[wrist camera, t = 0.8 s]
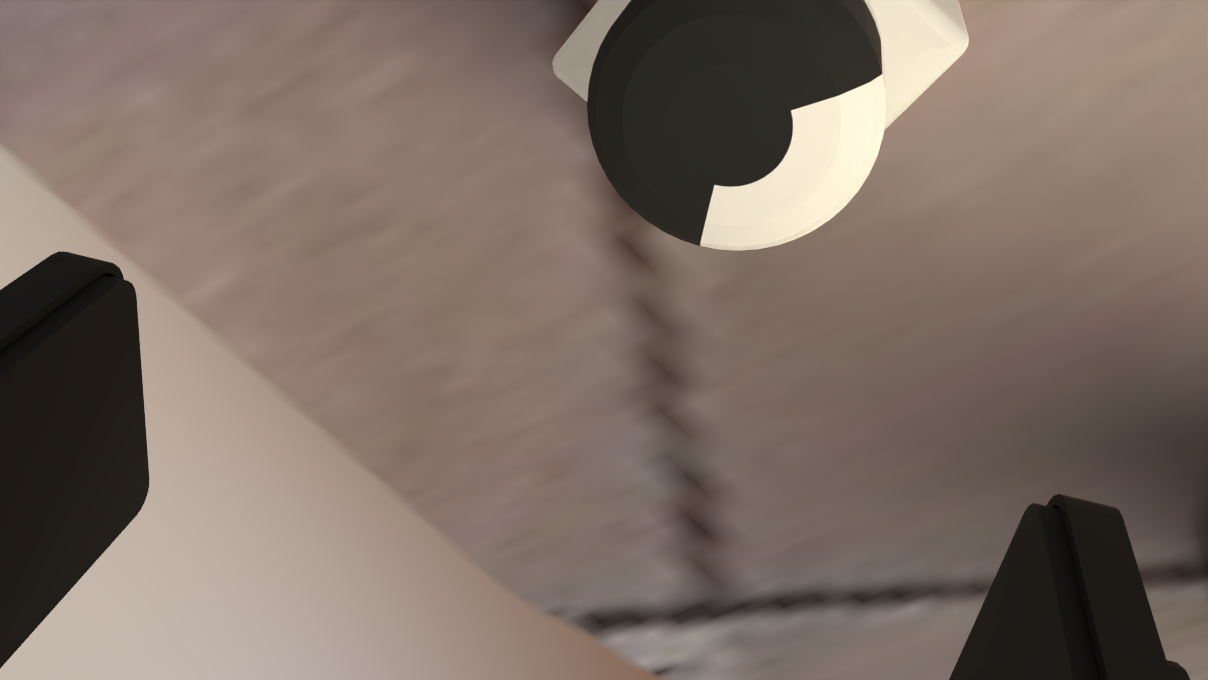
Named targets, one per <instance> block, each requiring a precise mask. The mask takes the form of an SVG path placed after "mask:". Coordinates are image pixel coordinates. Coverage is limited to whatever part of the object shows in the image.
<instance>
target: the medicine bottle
mask: <svg viewBox="0 0 1208 680" xmlns="http://www.w3.org/2000/svg"><path fill="white" fill-rule="evenodd" d="M968 42H969V36H968V33H967V29H966V26H965V23H964V19H963V16H962V12H961V9H960V5H959V2H958V0H598V1H597V3H596V4H595V5H594V7H593V8H592V9H591V10H590V12H589V13H588V14H587V15H586V17H585V18H584V19H583V20H582V22H581V23H580V24H579V25H578V27H577V28H576V29H575V31H574V32H573V33H572V34H571V36H570V37H569V38H568V39H567V41H566V42H565V43H564V44H563V46H562V47H561V48H560V50H559V51H558V52H557V53H556V55H555V57H554V59H553V61H552V65H553V72H554V73H555V74H556V76H557V77H558V78H559V79H560V80H562V81H563V82H564V83H565V84H566V85H567V86H569V87H570V88H571V89H572V90H573V91H575V92H576V93H577V94H578V95H579V96H580V97H582V98H583V99H584V100H585V101H586V102H587V109H588V123H589V129H590V133H591V138H592V143H593V146H594V149H595V151H596V154H597V157H598V160H599V162H600V164H601V166H602V168H603V170H604V172H605V174H606V176H607V177H608V179H609V181H610V182H611V183H612V185H613V186H614V188H615V189H616V191H617V192H618V193H619V195H620V196H621V197H622V198H623V199H624V200H625V201H626V202H627V203H628V204H629V206H630V207H631V208H632V209H633V210H635V211H636V212H637V213H638V214H639V215H641V216H642V217H643V218H644V219H645V220H647V221H648V222H649V223H651V224H653V225H654V226H656V227H657V228H659V229H660V230H662V231H664V232H666V233H668V234H670V235H672V236H674V237H676V238H678V239H681V240H683V241H686V242H690V243H693V244H696V245H699V246H703V247H709V248H714V249H720V250H737V251H740V250H755V249H762V248H767V247H772V246H777V245H780V244H783V243H786V242H789V241H792V240H795V239H797V238H799V237H802V236H804V235H806V234H808V233H810V232H812V231H814V230H815V229H817V228H818V227H820V226H821V225H823V224H824V223H826V222H827V221H829V220H830V219H831V218H833V217H834V216H835V215H836V214H837V213H838V212H839V211H840V210H842V209H843V208H844V207H845V206H846V205H847V204H848V202H849V201H850V200H851V199H852V198H853V197H854V195H855V194H856V193H857V192H858V191H859V189H860V188H861V186H862V184H863V183H864V181H865V180H866V178H867V177H868V175H869V173H870V171H871V169H872V167H873V165H874V162H875V160H876V158H877V156H878V152H879V149H880V145H881V142H882V138H883V134H884V130H885V129H886V128H887V127H888V126H889V125H890V124H891V123H892V122H893V121H894V120H895V119H896V118H897V117H898V116H899V115H900V114H901V113H902V112H904V111H905V110H906V109H907V108H908V107H909V106H910V105H911V104H912V103H913V102H914V101H915V100H916V99H917V98H918V97H919V96H920V95H921V94H922V93H923V92H924V91H925V90H926V89H927V88H928V87H929V86H930V85H931V84H932V83H933V82H934V81H935V80H936V79H937V78H939V77H940V76H941V75H942V74H943V73H944V72H945V71H946V70H947V69H948V68H949V67H950V66H951V65H952V64H953V63H954V62H955V61H956V60H957V59H958V58H959V57H960V56H961V55H962V54H963V53H964V52H965V50H966V48H967V47H968Z"/></svg>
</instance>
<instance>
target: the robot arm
mask: <svg viewBox="0 0 1208 680" xmlns="http://www.w3.org/2000/svg"><path fill="white" fill-rule="evenodd" d="M142 385H143V384H142V370H141V357H140V342H139V328H138V314H137V300H136V292H135V289H134V287H133V285H132V283H130V282H129V281H126V280H124V279H123V274H122V272H121V270H120V269H119V267H117V266H116V265H115V264H113V263H110V262H106V261H102V260H98V259H93V258H89V257H85V256H81V255H77V254H72V253H69V252H57V253H55V254H53V255H51V256H49V257H48V258H46V259H45V260H43V261H42V262H40V263H39V264H38V265H36V266H35V267H33V268H32V269H30V270H29V271H28V272H26V273H24V274H23V275H22V276H20V277H19V278H17V279H16V280H14V281H13V282H11V283H10V284H9V285H7V286H5V287H4V288H3V289H1V290H0V668H1V667H2V666H3V665H4V663H5V662H6V661H7V660H8V659H9V658H10V657H11V656H12V655H13V653H14V652H15V651H16V650H17V649H18V648H19V647H20V646H21V644H22V643H23V642H24V641H25V640H26V639H27V638H28V637H29V635H30V634H31V633H32V632H33V631H34V630H35V629H36V628H37V626H38V625H39V624H40V623H41V622H42V621H43V620H44V619H45V617H46V616H47V615H48V614H49V613H50V612H51V611H52V610H53V608H54V607H55V606H56V605H57V604H58V603H59V602H60V601H61V600H62V598H63V597H64V596H65V595H66V594H67V593H68V592H69V591H70V589H71V588H72V587H73V586H74V585H75V584H76V583H77V582H78V580H79V579H80V578H81V577H82V576H83V575H84V573H86V571H87V570H88V569H89V568H90V567H91V566H92V564H94V562H95V561H96V560H97V559H98V558H99V557H100V556H101V554H102V553H103V552H104V551H105V550H106V549H107V548H108V547H109V546H110V545H111V543H112V542H113V541H114V540H115V539H116V538H117V537H118V536H119V534H120V533H121V532H122V531H123V530H124V529H125V528H126V527H127V525H128V524H129V523H130V522H131V521H132V520H133V519H134V518H135V516H136V515H137V514H138V512H139V511H140V510H141V508H142V506H143V504H144V502H145V499H146V496H147V493H148V488H149V470H148V456H147V441H146V427H145V413H144V399H143V386H142ZM949 680H1190V678H1189V676H1188V674H1187V672H1186V670H1185V669H1184V668H1183V667H1181V666H1180V665H1179V664H1178V663H1176V662H1172V661H1168V660H1166V658H1165V654H1164V651H1163V648H1162V645H1161V641H1160V638H1159V635H1158V632H1157V628H1156V625H1155V622H1154V618H1153V615H1152V612H1151V609H1150V605H1149V602H1148V599H1147V596H1146V592H1145V589H1144V586H1143V583H1142V579H1141V576H1140V573H1139V569H1138V566H1137V563H1136V560H1135V556H1134V553H1133V550H1132V547H1131V543H1130V540H1129V537H1128V533H1127V530H1126V527H1125V524H1124V520H1123V517H1122V515H1121V513H1120V511H1119V510H1118V509H1116V508H1114V507H1110V506H1106V505H1102V504H1098V503H1093V502H1089V501H1085V500H1081V499H1077V498H1073V497H1069V496H1065V495H1061V494H1058V495H1055V496H1053V497H1052V499H1051V500H1050V501H1049V502H1048V504H1047V506H1043V505H1039V504H1035V503H1033V504H1030V506H1029V507H1028V508H1027V509H1026V511H1025V513H1024V515H1023V517H1022V519H1021V521H1020V523H1019V526H1018V528H1017V530H1016V532H1015V535H1014V537H1013V539H1012V541H1011V543H1010V546H1009V548H1008V550H1007V552H1006V555H1005V557H1004V559H1003V561H1002V563H1001V566H1000V568H999V570H998V572H997V575H996V577H995V579H994V581H993V583H992V586H991V588H990V590H989V592H988V595H987V597H986V599H985V601H984V603H983V606H982V608H981V610H980V612H979V615H978V617H977V619H976V621H975V623H974V626H973V628H972V630H971V632H970V635H969V637H968V639H967V641H966V643H965V646H964V648H963V650H962V652H961V655H960V657H959V659H958V661H957V663H956V666H955V668H954V670H953V672H952V675H951V677H950V679H949Z"/></svg>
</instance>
